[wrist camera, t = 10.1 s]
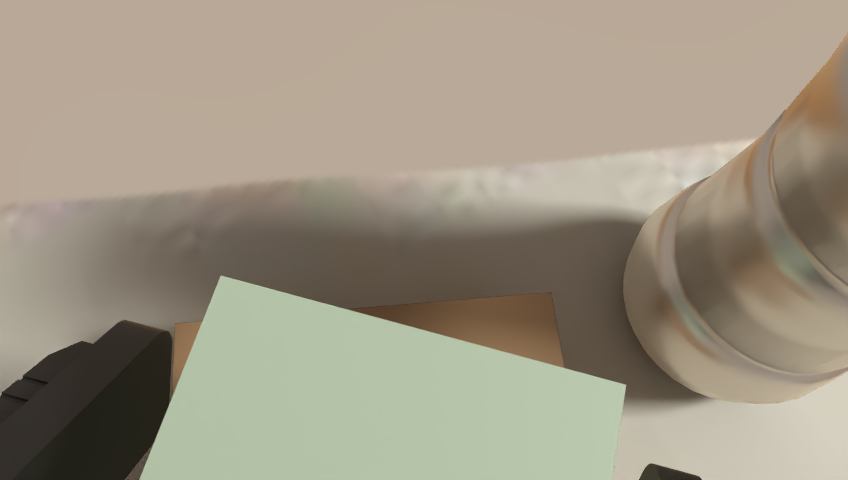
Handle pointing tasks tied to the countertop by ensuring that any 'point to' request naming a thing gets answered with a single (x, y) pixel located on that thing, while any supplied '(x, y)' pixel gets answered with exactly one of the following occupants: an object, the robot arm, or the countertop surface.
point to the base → (452, 325)
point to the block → (371, 402)
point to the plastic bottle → (755, 260)
